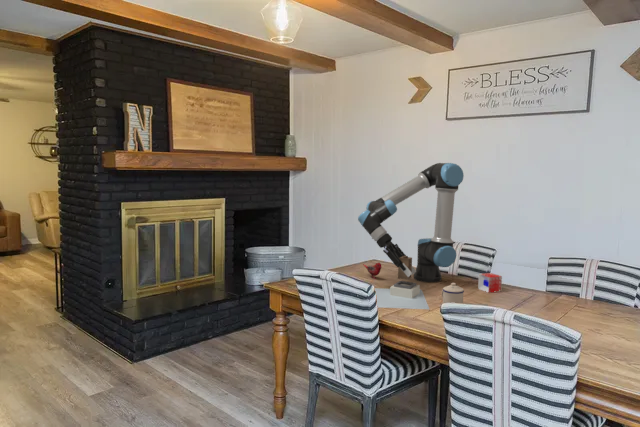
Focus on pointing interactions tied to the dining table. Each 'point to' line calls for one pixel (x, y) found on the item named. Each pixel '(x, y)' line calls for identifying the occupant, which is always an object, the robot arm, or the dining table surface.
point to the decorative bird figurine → (374, 269)
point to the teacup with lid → (452, 293)
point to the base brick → (405, 289)
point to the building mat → (400, 300)
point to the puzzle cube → (489, 282)
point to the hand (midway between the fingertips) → (412, 274)
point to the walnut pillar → (408, 263)
